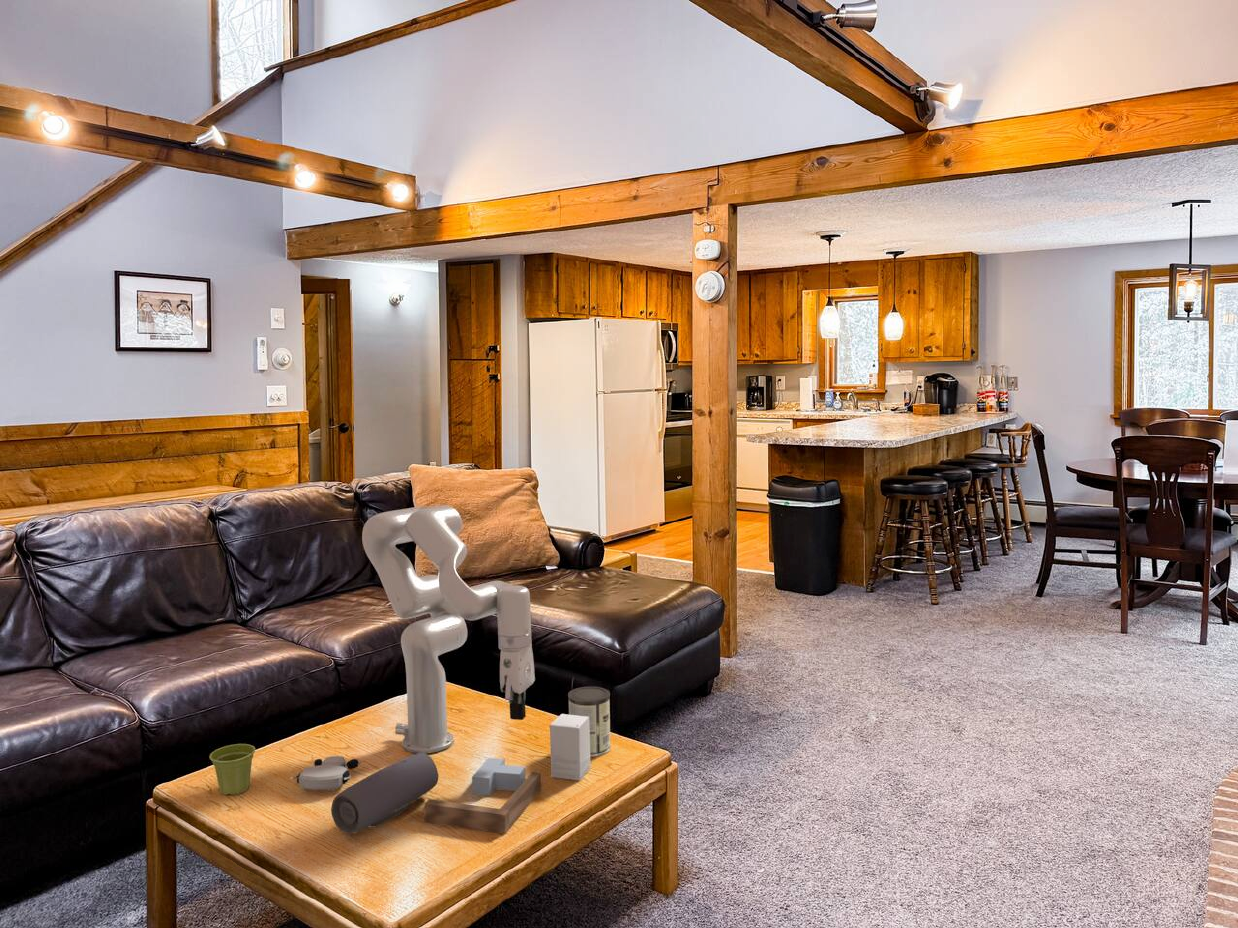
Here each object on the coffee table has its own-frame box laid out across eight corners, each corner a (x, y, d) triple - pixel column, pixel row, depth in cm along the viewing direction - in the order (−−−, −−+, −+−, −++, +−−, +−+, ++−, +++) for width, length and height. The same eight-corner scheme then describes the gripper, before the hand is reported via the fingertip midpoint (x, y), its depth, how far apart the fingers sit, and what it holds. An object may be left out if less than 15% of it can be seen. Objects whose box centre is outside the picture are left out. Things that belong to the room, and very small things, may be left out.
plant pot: (223, 803, 196) (220, 764, 195) (204, 790, 202) (202, 752, 201) (264, 788, 203) (262, 751, 202) (245, 776, 209) (243, 740, 208)
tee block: (472, 793, 200) (472, 776, 199) (488, 774, 209) (488, 757, 209) (515, 797, 197) (515, 780, 197) (529, 777, 207) (529, 760, 207)
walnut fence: (424, 821, 187) (424, 803, 187) (467, 780, 206) (467, 763, 206) (505, 833, 182) (504, 814, 182) (541, 789, 201) (540, 772, 201)
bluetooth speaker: (409, 789, 202) (408, 745, 201) (441, 798, 197) (439, 754, 196) (329, 833, 183) (327, 786, 182) (362, 845, 178) (360, 797, 177)
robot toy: (313, 771, 214) (289, 796, 199) (313, 752, 213) (288, 776, 198) (365, 771, 213) (344, 796, 198) (365, 752, 213) (344, 776, 198)
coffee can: (572, 739, 229) (571, 685, 227) (612, 740, 228) (612, 686, 226) (565, 756, 219) (564, 700, 217) (608, 758, 218) (607, 701, 216)
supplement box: (591, 768, 212) (590, 716, 211) (579, 781, 205) (579, 727, 204) (562, 764, 214) (561, 712, 213) (549, 777, 208) (549, 724, 206)
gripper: (517, 650, 198) (520, 731, 200) (542, 632, 213) (544, 708, 214) (486, 648, 200) (489, 728, 202) (512, 630, 215) (515, 705, 216)
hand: (517, 718), depth 208 cm, fingers closed
